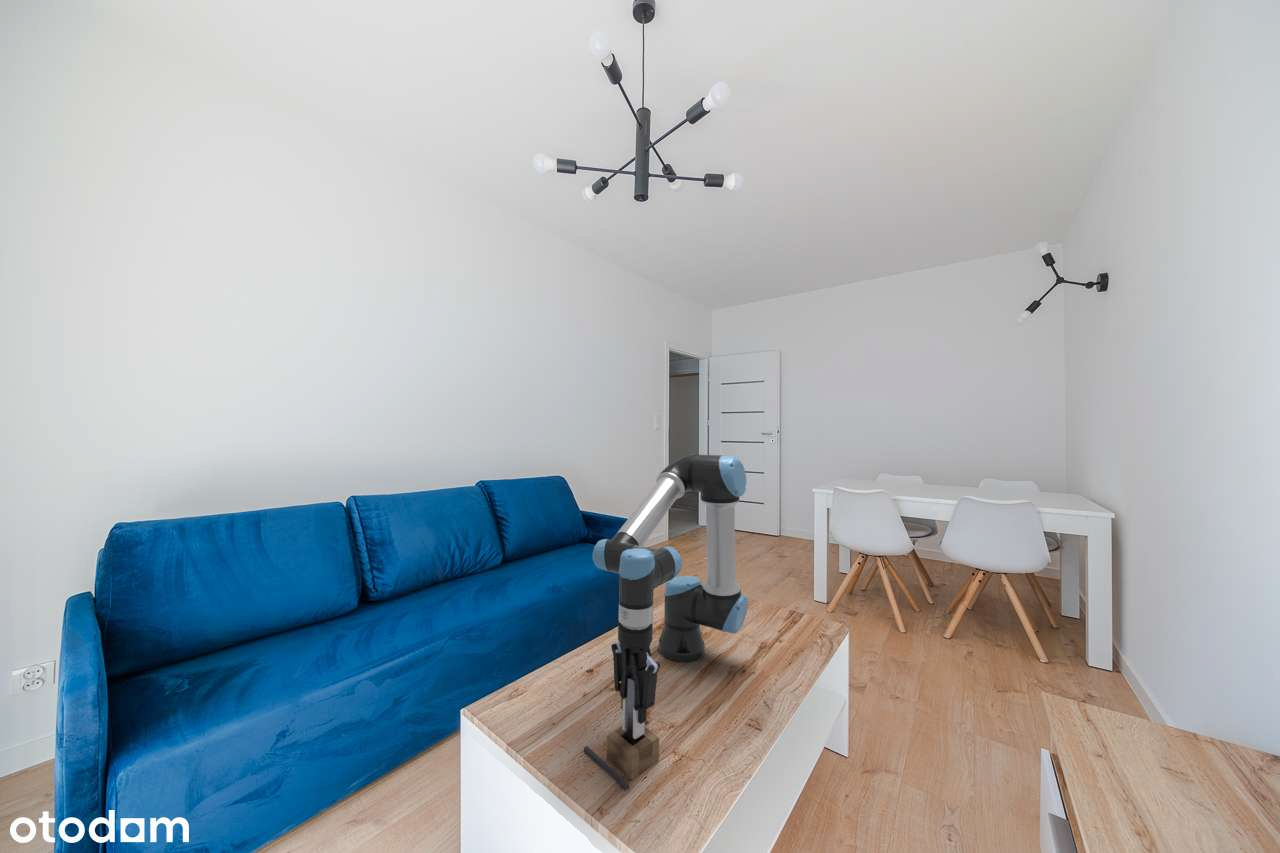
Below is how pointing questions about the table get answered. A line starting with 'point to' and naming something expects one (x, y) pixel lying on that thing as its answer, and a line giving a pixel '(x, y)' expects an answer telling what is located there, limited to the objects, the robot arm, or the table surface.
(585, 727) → the table surface
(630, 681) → the dark grey peg
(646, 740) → the bead block
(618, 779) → the dark grey rod
